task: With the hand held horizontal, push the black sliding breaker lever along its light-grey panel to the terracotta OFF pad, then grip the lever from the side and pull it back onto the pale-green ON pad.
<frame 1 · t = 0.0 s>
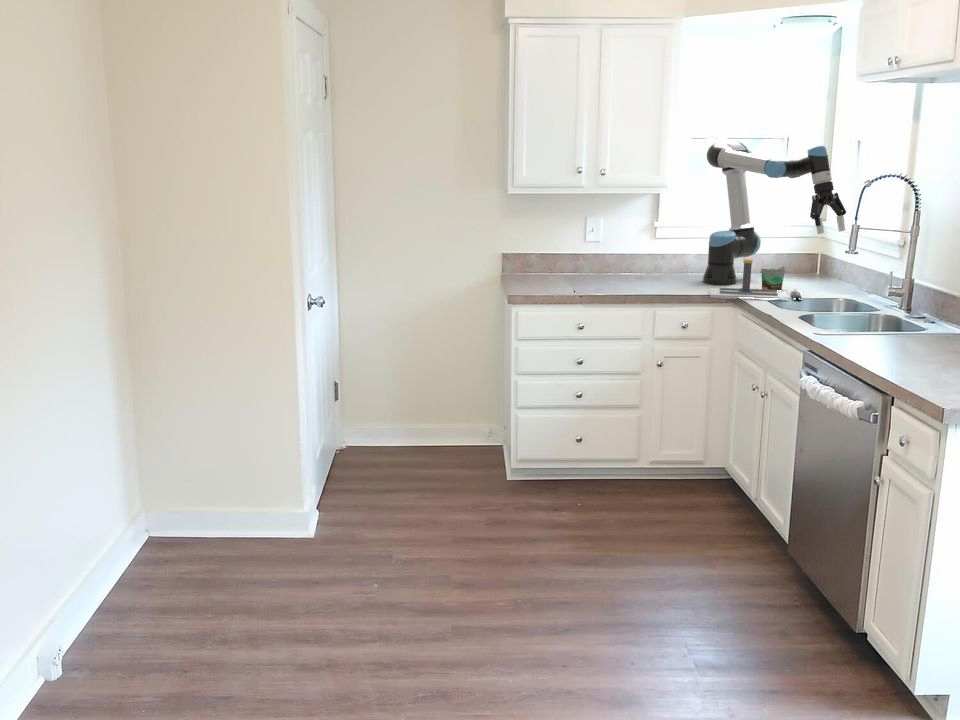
hand: (831, 232, 372), 28 cm above the worktop, tool tilted 20°, fingers open, 13 cm apart
food container: (774, 290, 394), on the worktop
lever: (746, 275, 380), point 9 cm above the worktop, slide at 6.0 cm
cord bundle: (796, 297, 379), on the worktop
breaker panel: (747, 296, 383), on the worktop
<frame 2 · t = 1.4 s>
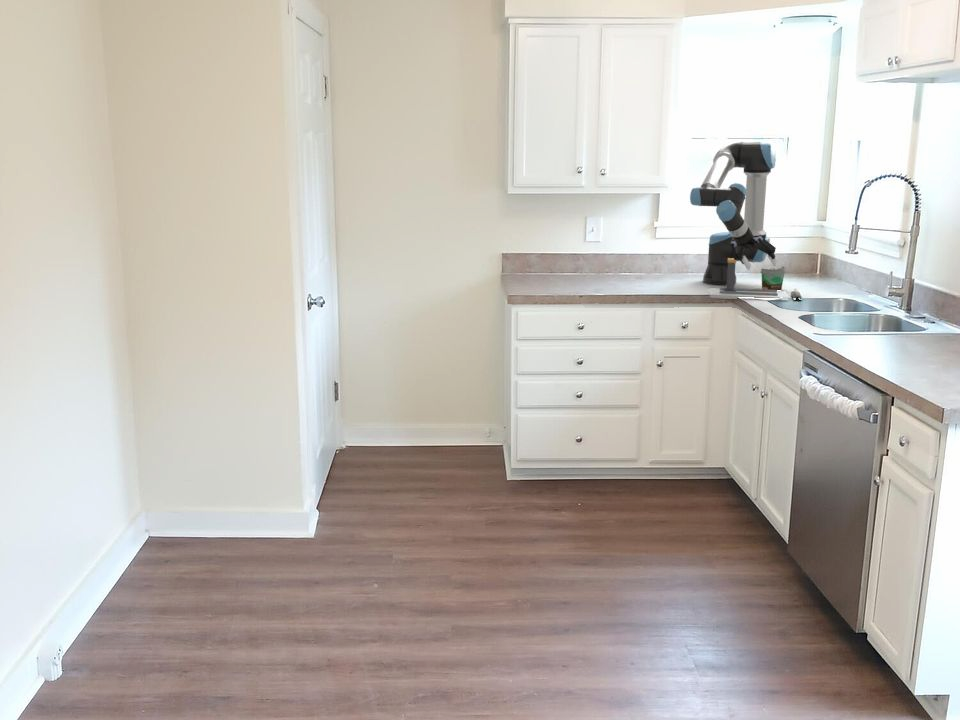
hand: (762, 265, 376), 14 cm above the worktop, tool tilted 45°, fingers open, 11 cm apart
lever: (730, 275, 382), point 9 cm above the worktop, slide at -0.7 cm, touching gripper, hand
everything else where it was.
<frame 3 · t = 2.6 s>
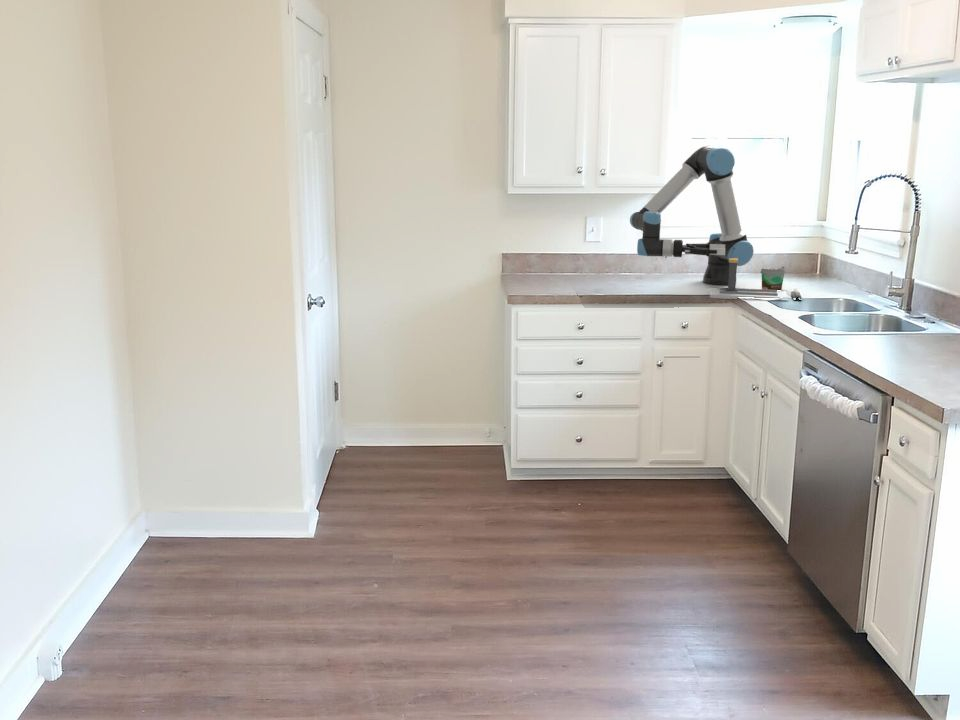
hand: (725, 249, 380), 20 cm above the worktop, tool horizontal, fingers open, 11 cm apart
lever: (732, 275, 382), point 9 cm above the worktop, slide at 0.0 cm
everything else where it was.
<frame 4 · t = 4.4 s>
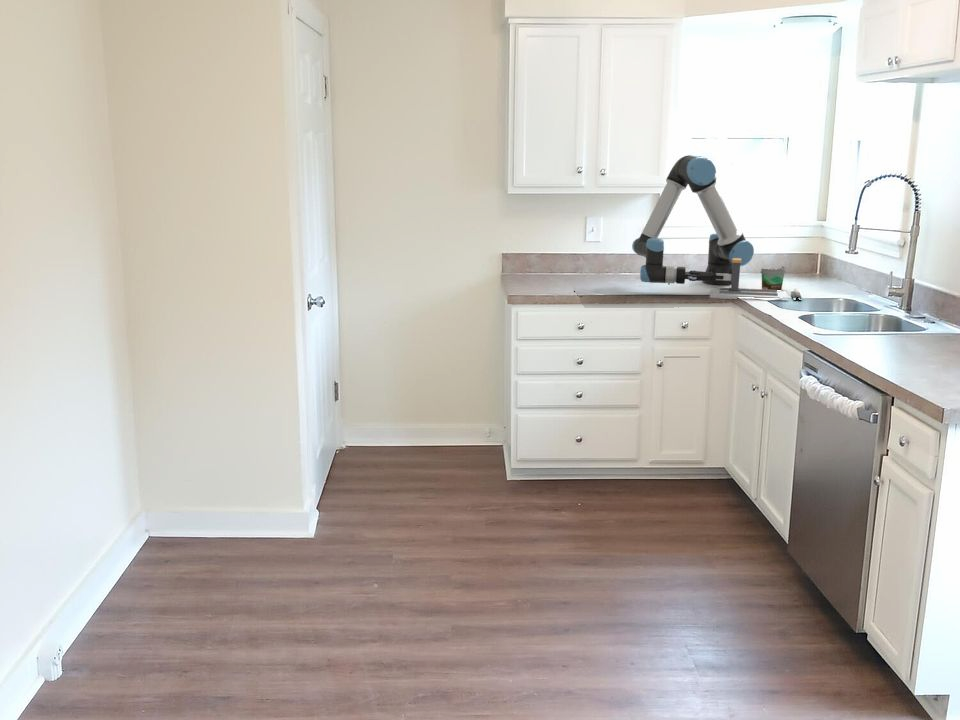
hand: (731, 277, 382), 8 cm above the worktop, tool horizontal, fingers closed
lever: (735, 275, 381), point 9 cm above the worktop, slide at 1.3 cm
everything else where it was.
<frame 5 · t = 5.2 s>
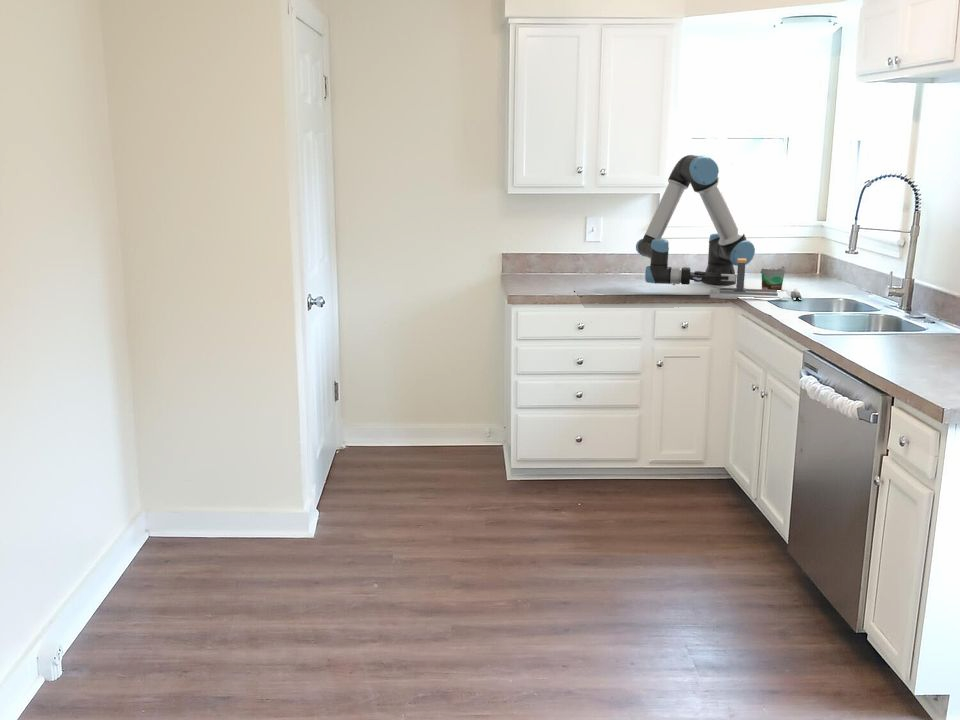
hand: (736, 277, 381), 8 cm above the worktop, tool horizontal, fingers closed
lever: (740, 275, 381), point 9 cm above the worktop, slide at 3.5 cm, touching gripper
everything else where it was.
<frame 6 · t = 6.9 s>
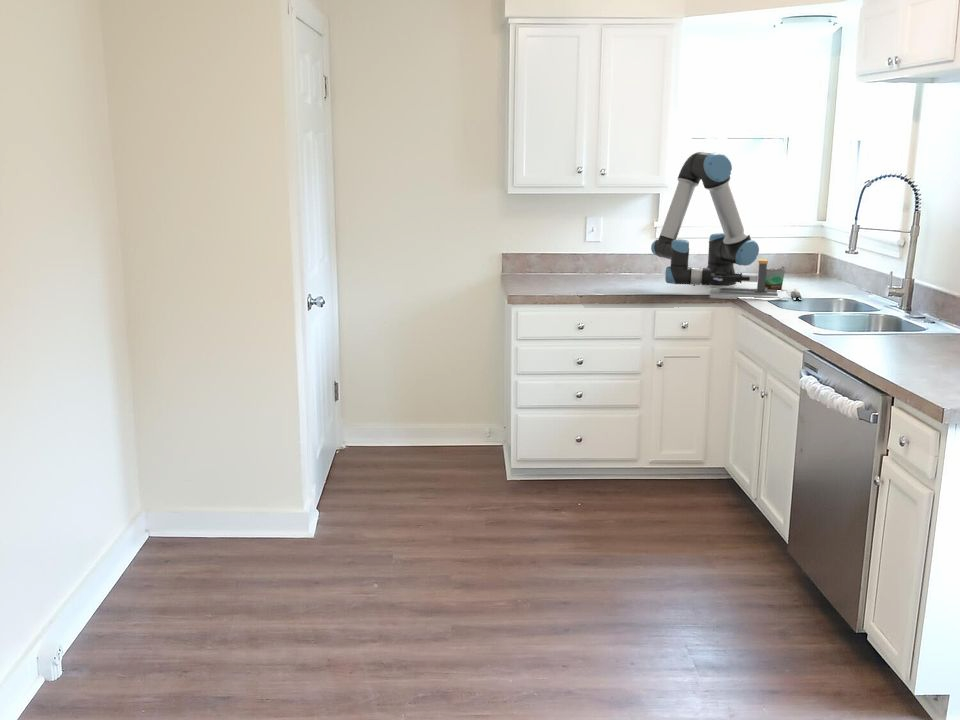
hand: (757, 278, 379), 8 cm above the worktop, tool horizontal, fingers closed
lever: (761, 276, 379), point 9 cm above the worktop, slide at 12.2 cm, touching gripper
everything else where it was.
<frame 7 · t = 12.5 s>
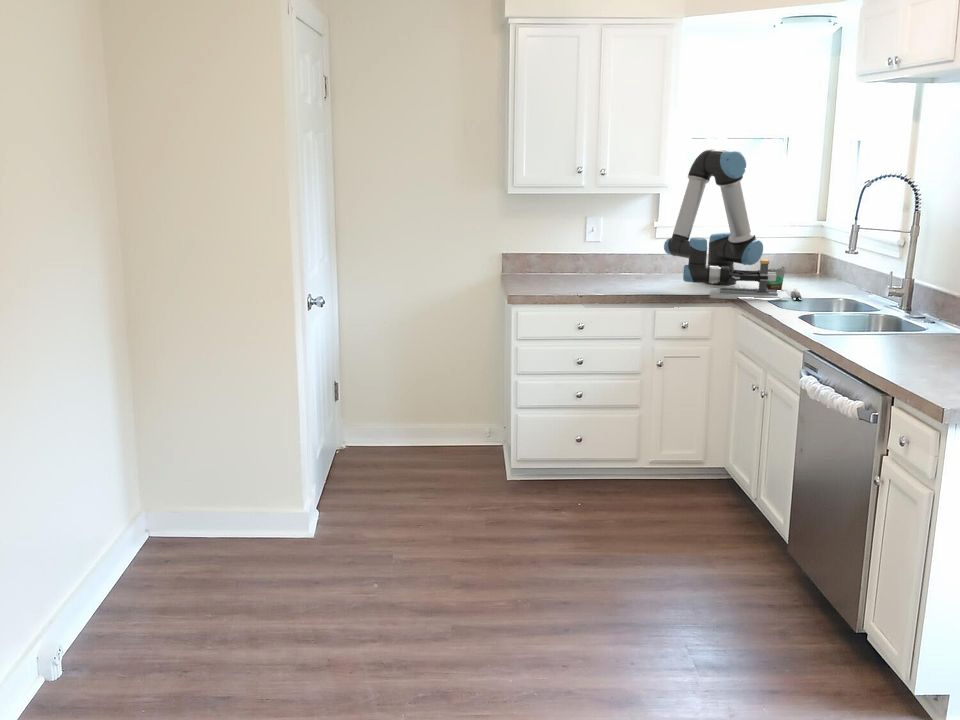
hand: (775, 276, 377), 9 cm above the worktop, tool horizontal, fingers closed on lever, 4 cm apart
lever: (763, 276, 379), point 9 cm above the worktop, slide at 12.8 cm, touching gripper
everything else where it was.
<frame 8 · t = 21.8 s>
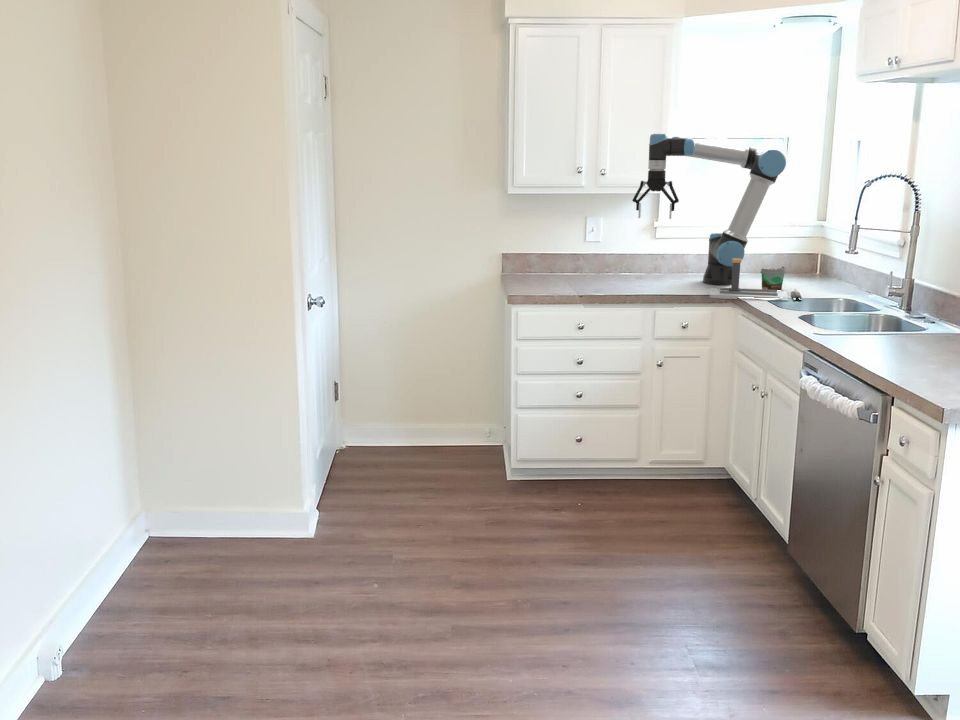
hand: (654, 218, 393), 32 cm above the worktop, tool pointing down, fingers open, 13 cm apart
lever: (735, 275, 381), point 9 cm above the worktop, slide at 1.4 cm
everything else where it was.
at the end: lever slide at 1.4 cm; the gripper is holding nothing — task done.
